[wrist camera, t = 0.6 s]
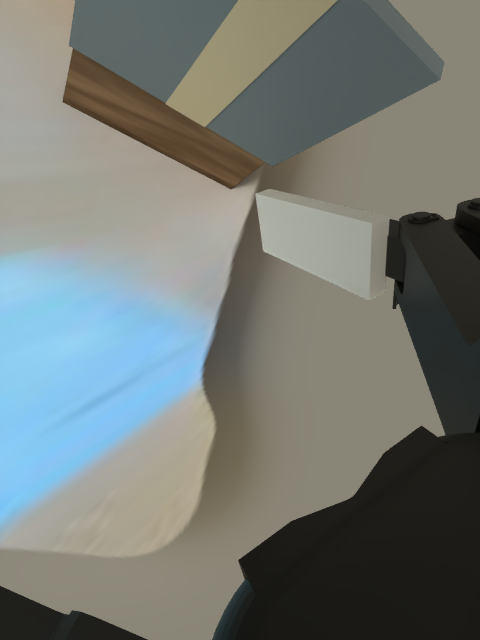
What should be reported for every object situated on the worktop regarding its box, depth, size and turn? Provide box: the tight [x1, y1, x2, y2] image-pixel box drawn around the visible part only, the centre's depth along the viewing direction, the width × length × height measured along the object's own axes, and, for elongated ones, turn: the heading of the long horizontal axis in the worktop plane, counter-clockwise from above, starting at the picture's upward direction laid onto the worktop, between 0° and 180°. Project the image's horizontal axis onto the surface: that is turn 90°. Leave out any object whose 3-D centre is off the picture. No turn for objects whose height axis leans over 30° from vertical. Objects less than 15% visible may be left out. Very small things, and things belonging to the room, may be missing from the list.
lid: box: [69, 0, 444, 166], centre depth 26 cm, size 18×20×1 cm
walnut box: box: [63, 48, 265, 189], centre depth 40 cm, size 18×20×9 cm
